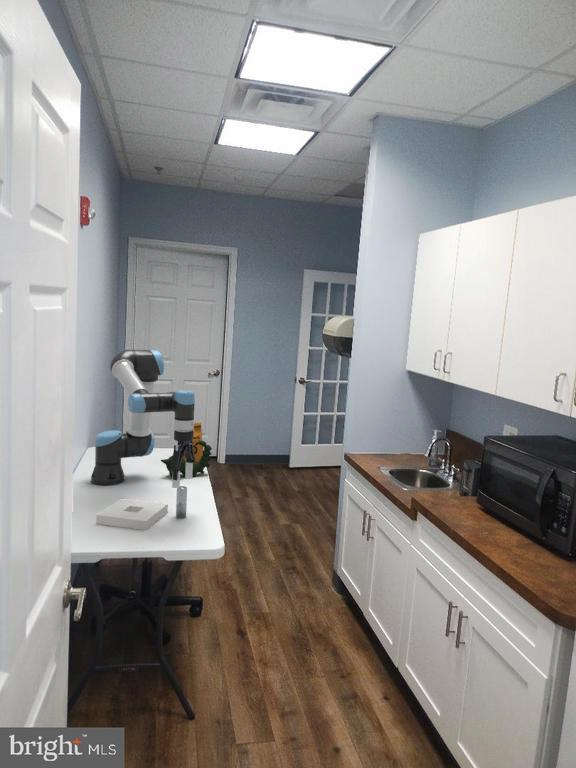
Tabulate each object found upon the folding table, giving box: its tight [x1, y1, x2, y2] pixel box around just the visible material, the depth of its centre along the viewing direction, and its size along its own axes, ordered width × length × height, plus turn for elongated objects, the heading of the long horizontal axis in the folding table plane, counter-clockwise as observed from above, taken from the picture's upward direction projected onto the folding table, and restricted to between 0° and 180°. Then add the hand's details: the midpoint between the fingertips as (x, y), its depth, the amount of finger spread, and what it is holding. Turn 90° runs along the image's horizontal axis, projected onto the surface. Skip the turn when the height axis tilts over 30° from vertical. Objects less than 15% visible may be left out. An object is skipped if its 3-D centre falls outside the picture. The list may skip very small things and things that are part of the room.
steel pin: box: [175, 485, 188, 519], centre depth 216 cm, size 4×4×12 cm
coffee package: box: [183, 421, 204, 463], centre depth 299 cm, size 10×12×22 cm
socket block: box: [95, 497, 169, 531], centre depth 213 cm, size 20×20×4 cm
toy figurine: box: [160, 440, 213, 478], centre depth 271 cm, size 9×19×25 cm
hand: (182, 482), depth 215 cm, fingers open, 13 cm apart
